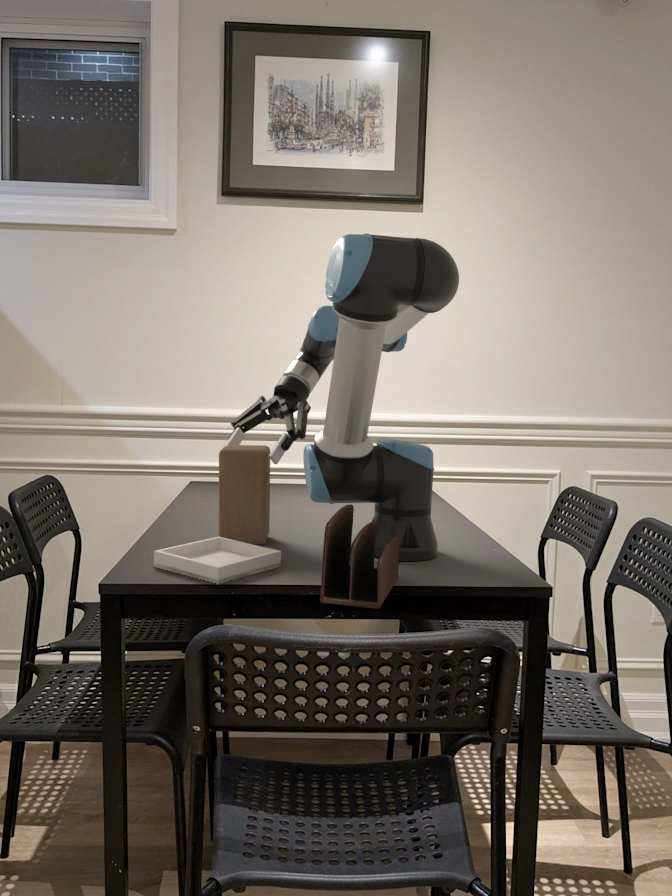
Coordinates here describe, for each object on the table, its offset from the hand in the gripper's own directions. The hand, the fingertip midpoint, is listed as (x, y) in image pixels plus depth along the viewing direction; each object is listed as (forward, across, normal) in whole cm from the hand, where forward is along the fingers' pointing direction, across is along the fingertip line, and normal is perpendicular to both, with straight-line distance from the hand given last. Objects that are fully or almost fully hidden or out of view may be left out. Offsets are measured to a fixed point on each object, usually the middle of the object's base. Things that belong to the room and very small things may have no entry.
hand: (248, 457), depth 170 cm
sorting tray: (+27, -12, +2) cm, 30 cm away
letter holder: (+22, -40, -3) cm, 46 cm away
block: (+14, -1, -12) cm, 18 cm away
